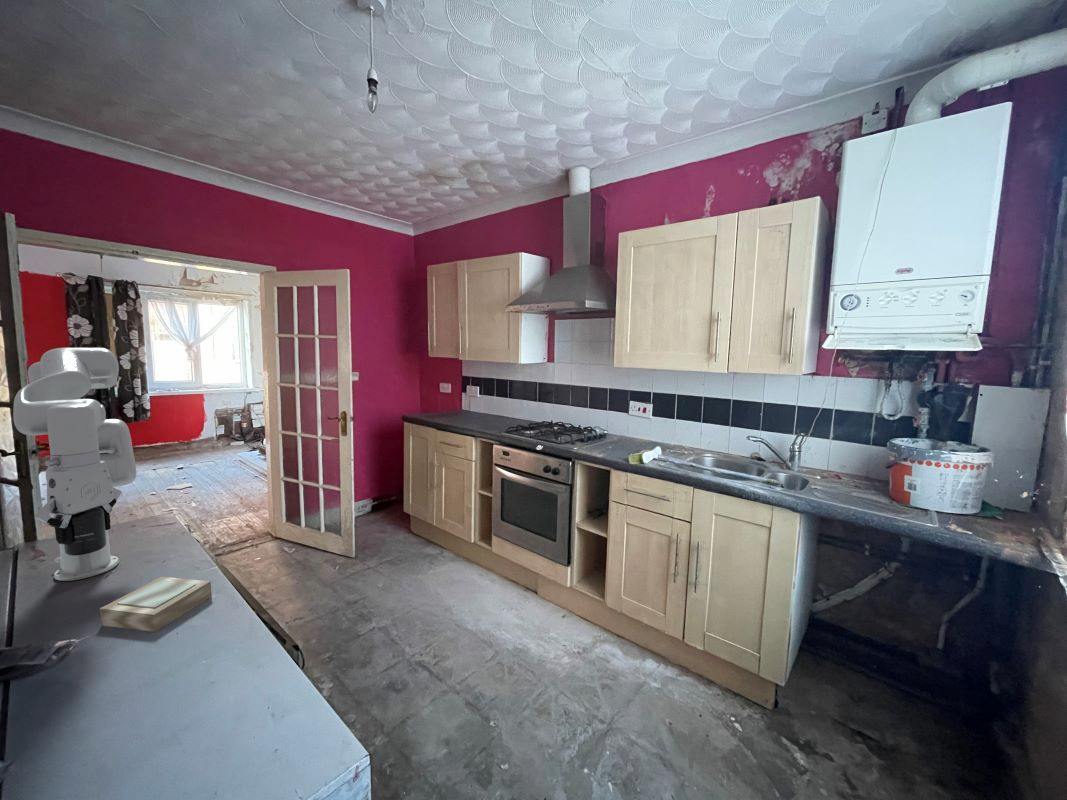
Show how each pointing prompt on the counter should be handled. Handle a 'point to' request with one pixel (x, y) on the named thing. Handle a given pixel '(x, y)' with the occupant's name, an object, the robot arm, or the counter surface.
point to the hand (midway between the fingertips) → (85, 535)
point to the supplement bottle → (87, 532)
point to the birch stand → (155, 604)
